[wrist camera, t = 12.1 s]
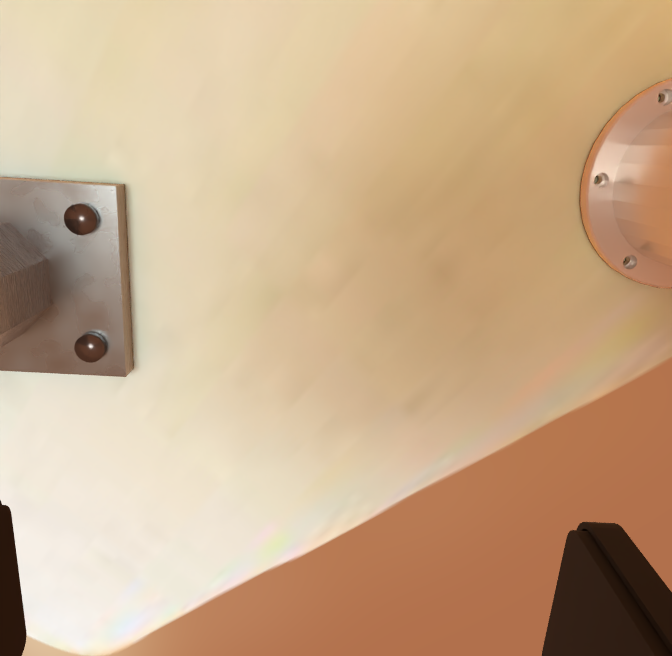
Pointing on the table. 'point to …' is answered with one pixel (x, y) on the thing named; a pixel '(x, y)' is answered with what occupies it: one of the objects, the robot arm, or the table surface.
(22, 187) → the shaft block
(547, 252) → the table surface
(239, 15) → the table surface
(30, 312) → the hub ring
